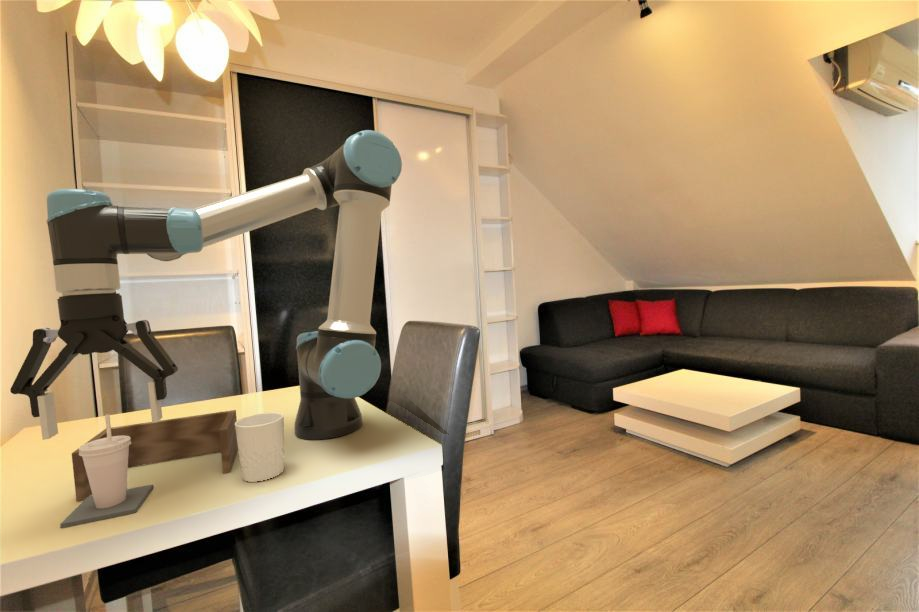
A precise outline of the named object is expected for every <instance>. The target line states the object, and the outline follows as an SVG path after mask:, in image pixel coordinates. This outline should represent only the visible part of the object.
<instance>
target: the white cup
mask: <svg viewBox="0 0 919 612" xmlns="http://www.w3.org/2000/svg"><path fill="white" fill-rule="evenodd" d="M284 418H285V417H284V414H283V413H280V412H263V413H255V414H251V415H247V416H245V417H242V418H240V419H237V421H236V422H235V430H236V438H237V445H238V451H237V453H238V455H239V457H238V459H239V464H240V465H241V467H240V469H241V476H242V479H243V481H244V482H247V481H248V482H249V483H258V482H257V481H261V482H264V481H263V480H265V481H268V480H267V479H269V480H271V479H270V478H272V479H274V478H276V477H278V476H280V475H281V474H282V473H283V472H284V469H285V463H284V462H285V461H284V458H285V425H284V424H285V423H284V421H285V419H284ZM281 472H282V473H281ZM280 473H281V474H280ZM279 474H280V475H279ZM277 475H278V476H277ZM275 476H276V477H275ZM273 477H274V478H273Z"/></svg>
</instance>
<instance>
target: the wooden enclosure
mask: <svg viewBox="0 0 919 612" xmlns="http://www.w3.org/2000/svg"><path fill="white" fill-rule="evenodd" d="M236 421H238V419H237V410H236V409H232V410H225V411H219V412H213V413H211V412H210V413H206V414H205V413H204V414H196V415H190V416H185V417H184V416H183V417H176V418H169V419H163V420H161V419H160V420H159V421H158V422H154V423H152V421H149V422H143V423H142V422H141V423H134V424H125V425H119V426H113V427H112V426H111V434H112V436H129V437H130V438H131V444H130V445H129V456H128V467H129V468H133V467H132V466H135V467H139V466H138V465H140V466H144V465H143V464H146V465H151V464H150V463H152V464H157V463H162V462H168V461H174V460H180V459H181V460H182V459H186V458H191V457H192V456H193V457H198V456H204V455H210V454H215V453H214V452H216V453H221V466H222V474H227V473H231V472H232V471H231V470H232V468H233V465H234V462H235V460H236V456H237V453H238V445H237V438H236V430H235V422H236ZM102 438H107V430H106V428H105V429H103V430H102V431H100V432H99V433H98V434H96V435H95V436H94V437H92V438H91V439H89V440H88V441H87V442H85V443H84V444H86V443H89V442H91V441H95V440H98V439H102ZM79 448H80V447H78V448H77V449H76V450H74V451H73V452H72V453H71V462H72V470H73V471H72V472H73V480H74V481H73V483H74V490H75V501H76V502H81V501H84V500H85V499H86V498H87V497H89V496H92V495H93V494H92V491H91V487H90V484H89V480H88V476H87V473H86V469H85V466H84V462H83V458H82V456H80V455H79ZM209 453H210V454H209ZM203 454H204V455H203ZM197 455H198V456H197ZM193 457H192V458H193Z"/></svg>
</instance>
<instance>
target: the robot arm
mask: <svg viewBox="0 0 919 612" xmlns="http://www.w3.org/2000/svg"><path fill="white" fill-rule="evenodd" d="M402 167H403V163H402V157H401V155H400V151H399V150H398V148H397V146H396V145H394V142H393V141H392V139H390V138H389V137H388V136H386V135H384V134H383V133H381V132H379V131H376V130H371V129H365V130H361V131H358V132H356V133H354V134H352V135H350V136H349V137H347V138H346V140H345V141H344V143H343V144H342V145H341V146H340V147H339V148H338V149H337V150H335V152H333V153H332V154H331V155H330V156H329V157H327V158H326V159H324V160H323V161H321V162H320V163H317V164H316V165H315V164H314V165H312V166H309V167H307V168H304V170H303V172H302V174H301V175H300V174H299V175H297V176H293V177H291V178H287V179H284V180H280V181H278V182H275V183H271V184H268V185H264V186H262V187H259V188H256V189H252V190H248V191H246V192H243V193H238V194H237V195H233V196H229V197H226V198H223V199H220V200H217V201H214V202H210V203H207V204H204V205H200V206H198V207H194V208H180V207H178V206H177V207H175V206H173V207H144V206H142V207H139V206H138V207H137V206H135V207H134V206H119V205H113V202H112V201H111V198H110V195H108V194H107V193H104V192H102V191H97V190H90V189H82V188H81V189H80V188H60V189H55V190H52V191H50V192H49V193H48V194H47V196H46V210H47V219H46V224H47V229H48V235H49V242H50V248H51V256H52V264H53V265H52V266H53V274H54V285H55V291H56V292H57V293H60V294H61V296H58V298H57V299H56V300H57V308H58V316H59V322H60V327H59V329H57V328H52V329H51V328H49V327H43V328H37V329H34V330H33V332H32V344H31V347H30V348H29V350H28V353H27V355H26V356H25V360H24V361H23V362H22V365H21V367H20V369H19V371H18V372H17V374H16V375H17V376H16V377H15V380H14V381H13V383H12V385H11V387H10V388H9V389H10V393H11V394H13V395H25V396H27V397H28V398H29V402H30V403H29V404H30V405H29V406H30V411H31V416H32V417H33V418H39V423H40V429H41V437H42V438H41V439H42V441H43V440H45V441H46V440H49V439H52V438H53V437H55V436H56V435H58V434H59V429H58V419H57V412H56V405H55V395H54V391H50V392H47V391H48V389H49V388H50V387H51V386H52V384H54V382H55V380H56V379H58V377H59V376H60V375H61V374H62V373H63V371H64V370H65V369H66V368H67V367H68V366H69V365H70V363H71V362H72V361H73V360H74V359H75V358H76V357H77V356H78V355H79V354H80V355H82V356H86V355H91V354H93V353H98V354H103V353H104V354H105V353H110V352H112V351H114V352H116V353H117V354H120V355H121V356H122V357H124V358H125V359H126V360H128V362H130V363H132V364H133V365H134V366H135V367H137V368H138V369H139V370H141V371H142V372H143V373H145V374H146V375H147V376H148V377H150V378H151V379H152V380H150V381H148V382H147V386H148V397H149V407H150V408H149V409H150V416H151V422H152V423H154V422H158V421H161V419H163V410H162V401H161V400H165V399H166V398H167V396H168V389H167V378H168V377H170V376H173V375H174V374H175V373H177V372H178V370H179V368H178V366H177V365H176V363H175V362H174V360H172V359H173V358H171V356H170V354H168V352H167V351H166V350H165V349H164V347H163V346H162V345H161V343H160V342H159V341H158V339H157V338H156V337H155V335H154V334H153V332H152V330H151V324H150V322H149V320H147V319H141V320H137V321H136V322H131V323H127V322H126V320H125V314H124V307H123V306H124V305H123V297H122V294H120V293H117V291H118V290H120V289H121V282H120V270H119V262H118V255H138V254H140V255H141V254H142V255H144V254H145V255H147V256H149V257H150V258H152V259H153V260H156V261H157V260H158V261H161V262H171V261H175V260H178V259H181V257H183V256H184V255H186V254H193V253H196V254H197V253H200V252H201V251H202V250H203V248H205V247H208V246H212V245H215V244H217V243H220V242H223V241H225V240H228V239H232V238H234V237H237V236H239V235H243V234H245V233H248V232H250V231H251V232H252V231H254V230H257V229H260V228H262V227H265V226H268V225H271V224H274V223H277V222H280V221H282V220H285V219H288V218H290V217H291V218H292V217H293V216H297V215H300V214H302V213H304V212H307V211H310V210H313V209H316V208H317V209H318V210H321V211H324V210H328V209H330V208H333V207H337V206H339V209H338V210H339V211H338V219H337V227H336V228H337V229H336V237H335V246H334V255H333V256H334V257H333V266H332V273H331V283H330V291H329V292H330V293H329V300H328V301H329V302H328V310H327V319H326V320H325V322H323V323H322V324H320V326H318V330H316V331H309V332H303V333H300V334H298V336H297V337H296V346H295V350H296V356H297V366H298V367H297V368H298V369H297V370H298V379H299V380H298V381H299V382H298V383H299V395H300V401H299V405H298V409H297V413H296V418H295V421H294V434H295V436H296V437H297V438H300V439H303V440H327V439H333V438H337V437H342V436H346V435H348V434H351V433H353V432H356V431H357V430H359V429H360V428H361V427H362V426H363V415H362V412H361V409H360V407H359V405H358V402H357V400H356V398H358V397H361V396H363V395H365V394H366V393H367V392H369V391H370V390H371V389H372V388H373V387H374V386H375V385H376V383H377V381H378V379H379V378H380V375H381V371H382V370H381V369H382V362H381V357H380V355H379V353H378V351H377V349H376V348H375V347H376V338H377V331H376V330H375V329H374V327H373V326H372V325H371V313H372V305H373V304H372V303H373V297H374V295H373V294H374V285H375V275H376V268H377V267H376V266H377V256H378V247H379V241H380V240H379V239H380V230H381V220H382V212H383V211H384V210H386V209H387V208H389V206H390V205H391V203H390V202H391V194H392V186H393V185H394V184H395V183H396V182H397V181H398V178H400V176H401V172H402ZM129 331H130V332H132V334H133V335H134V336H138V338H139V339H140V342H142V344H143V345H144V346H145V348H146V349H147V350H148V352H149V353H150V354H151V356H152V357H153V358H154V360H155V361H156V363H157V364H158V365H159V366H158V365H156V364H155V363H154V362H153V361H151V360H150V359H149V358H148V357H146V356H145V355H144V354H142V353H141V352H140V351H138V350H137V349H136V348H135V347H134V346H133V345H132V344H131V343H130V342H129V341H127V340H126V339H124V338H125V336H126V335H127V333H128V332H129ZM57 338H60V339H61V340H62V341H63V342H64V343H65V344H66V345H65V346H64V347H63V348H62V349H61V351H60V352H59V353H58V355H57V357H55V359H54V360H53V361H52V362H51V363H50V365H48V367H47V368H46V369H45V370H44V372H42V374H41V375H40V376H39V377H38V378H37V379H36V376H37V374H38V373H39V371H40V369H41V367H42V365H43V363H44V361H45V358H46V356H47V354H48V353H49V351H50V348H51V345H52V343H54V342H56V340H57ZM160 367H161V368H160ZM35 379H36V380H35ZM34 381H35V382H34Z"/></svg>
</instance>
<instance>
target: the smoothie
mask: <svg viewBox="0 0 919 612" xmlns="http://www.w3.org/2000/svg"><path fill="white" fill-rule="evenodd" d="M110 415H111V414H110V413H105V414H104V419H105V429H106V430H107V438H102V439H98V440H95V441H91V442H89V443H87V442H85V443H86V444H85V443H84V444H82V445H80V446H79V447H78V448H79V455H80V456H82V458H83V462H84V466H85V469H86V473H87V476H88V480H89V484H90V487H91V491H92V494H91V495H92V496H93V498H94V502H95V505H96V508H108V507H112V506H115V505H117V504H120V503H121V502H123V501H124V500H125V499H126V489H128V488H127V485H128V470H129V468H128V456H129V445H130V444H131V438H130V437H129V436H112V434H111V428H112V425H111V417H110Z"/></svg>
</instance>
